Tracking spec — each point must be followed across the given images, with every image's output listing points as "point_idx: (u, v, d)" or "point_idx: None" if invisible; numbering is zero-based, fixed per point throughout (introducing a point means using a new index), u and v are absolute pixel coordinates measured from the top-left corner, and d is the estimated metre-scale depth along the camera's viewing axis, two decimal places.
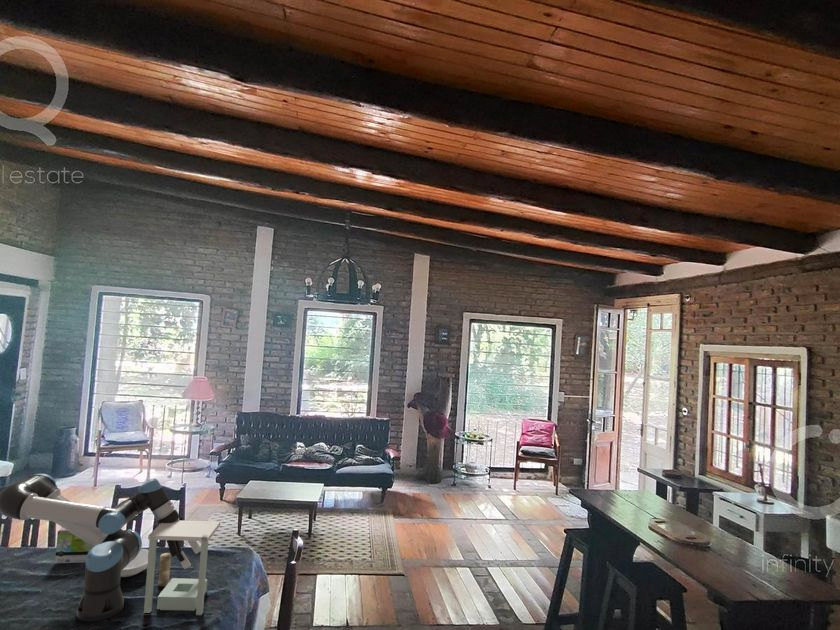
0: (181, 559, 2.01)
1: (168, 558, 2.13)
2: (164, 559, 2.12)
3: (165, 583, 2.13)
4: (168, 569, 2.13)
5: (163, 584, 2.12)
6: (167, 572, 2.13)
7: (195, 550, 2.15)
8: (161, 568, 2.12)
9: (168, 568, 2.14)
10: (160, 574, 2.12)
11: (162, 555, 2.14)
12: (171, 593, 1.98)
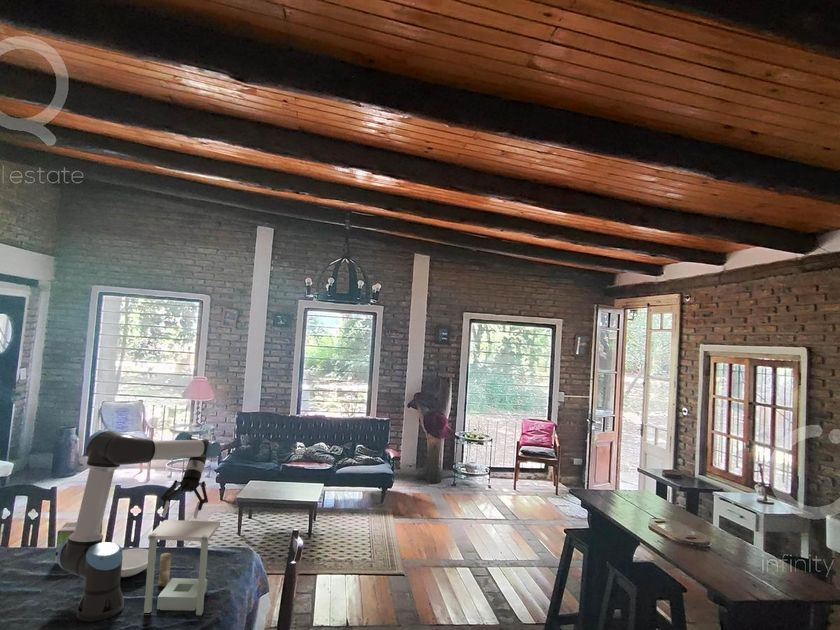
0: (201, 508, 2.30)
1: (168, 558, 2.13)
2: (164, 559, 2.12)
3: (165, 583, 2.13)
4: (168, 569, 2.13)
5: (163, 584, 2.12)
6: (167, 572, 2.13)
7: (164, 512, 2.26)
8: (161, 568, 2.12)
9: (168, 568, 2.14)
10: (160, 574, 2.12)
11: (162, 555, 2.14)
12: (171, 593, 1.98)
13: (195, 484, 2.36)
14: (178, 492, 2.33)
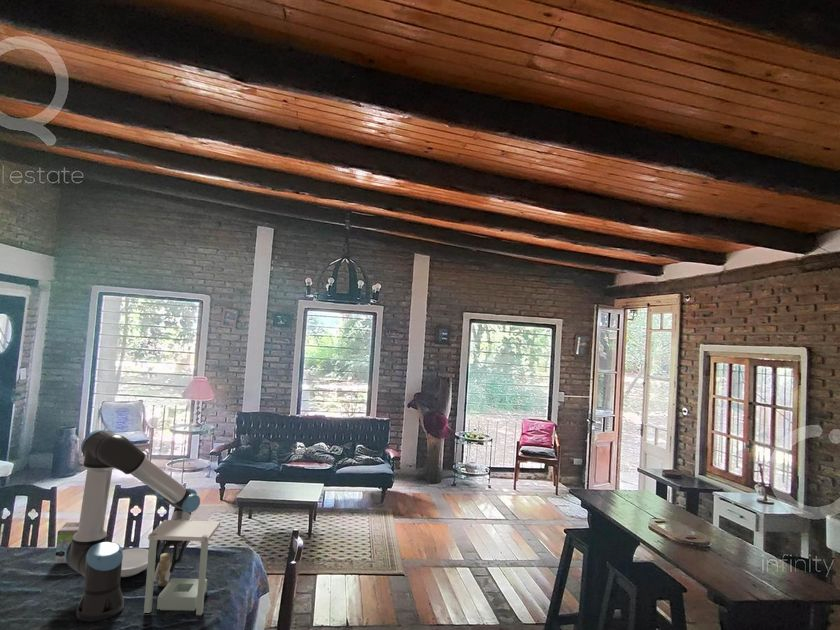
0: (173, 570, 2.14)
1: (168, 558, 2.13)
2: (164, 559, 2.12)
3: (165, 583, 2.13)
4: None
5: (163, 584, 2.12)
6: None
7: (156, 576, 2.11)
8: (161, 568, 2.12)
9: None
10: (160, 574, 2.12)
11: (162, 555, 2.14)
12: (171, 593, 1.98)
13: None
14: (166, 549, 2.19)
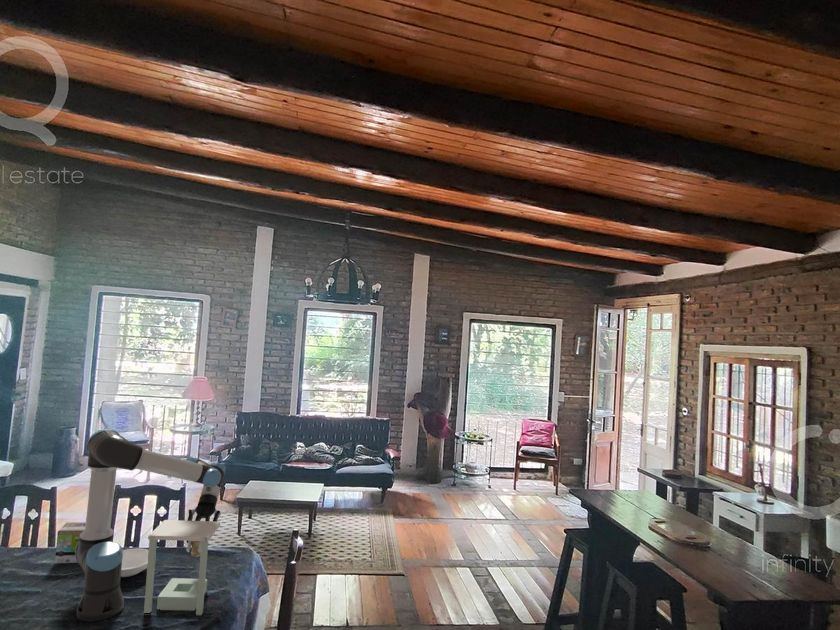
0: None
1: None
2: None
3: (198, 554, 2.14)
4: None
5: (196, 555, 2.14)
6: None
7: (189, 546, 2.12)
8: None
9: None
10: (193, 545, 2.14)
11: None
12: (171, 593, 1.98)
13: (210, 510, 2.23)
14: None
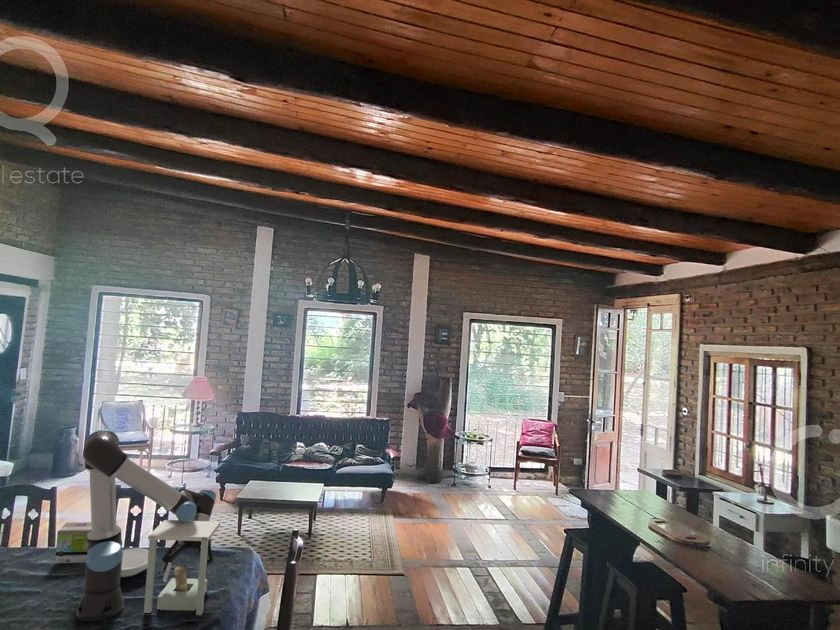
0: (206, 570, 2.05)
1: (183, 571, 2.01)
2: (178, 573, 2.00)
3: None
4: (185, 582, 2.02)
5: None
6: (184, 585, 2.02)
7: (166, 576, 2.01)
8: (177, 582, 2.01)
9: (185, 581, 2.02)
10: (177, 588, 2.01)
11: (176, 569, 2.01)
12: (171, 593, 1.98)
13: (200, 541, 2.11)
14: (181, 551, 2.08)
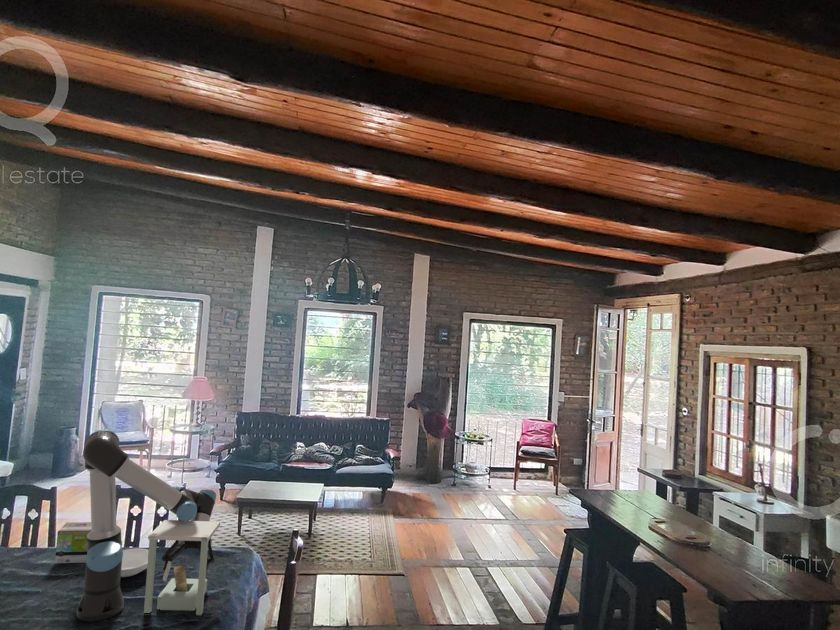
0: (207, 569, 2.05)
1: (182, 569, 2.02)
2: (178, 571, 2.01)
3: None
4: (184, 580, 2.03)
5: None
6: (184, 584, 2.02)
7: (166, 575, 2.01)
8: (177, 581, 2.01)
9: (184, 579, 2.03)
10: (177, 587, 2.01)
11: (175, 567, 2.03)
12: (171, 593, 1.98)
13: (200, 541, 2.11)
14: (181, 551, 2.09)
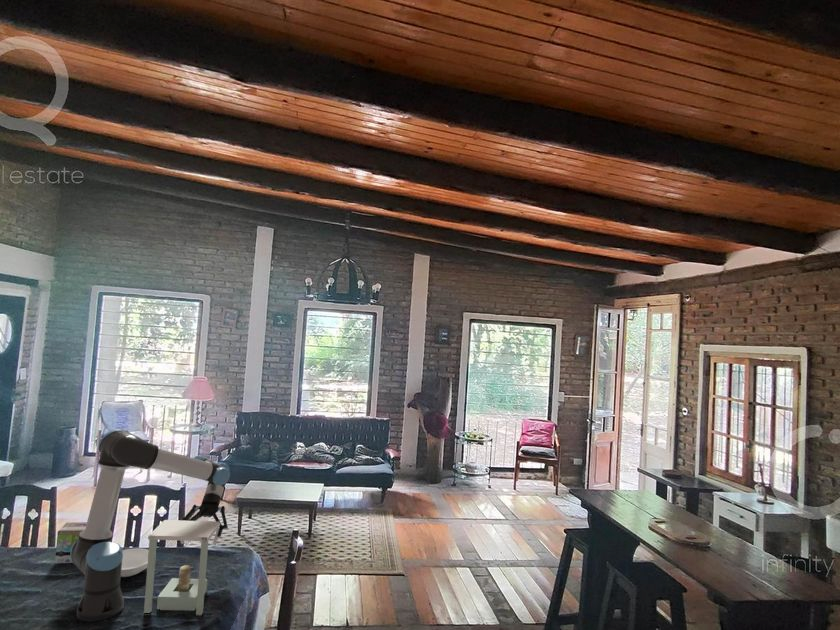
0: (220, 534, 2.23)
1: (188, 571, 2.02)
2: (184, 573, 2.01)
3: None
4: (188, 582, 2.02)
5: None
6: (187, 586, 2.02)
7: None
8: (181, 582, 2.01)
9: (188, 581, 2.02)
10: (179, 588, 2.01)
11: (181, 568, 2.02)
12: (171, 593, 1.98)
13: (214, 509, 2.29)
14: (197, 517, 2.27)
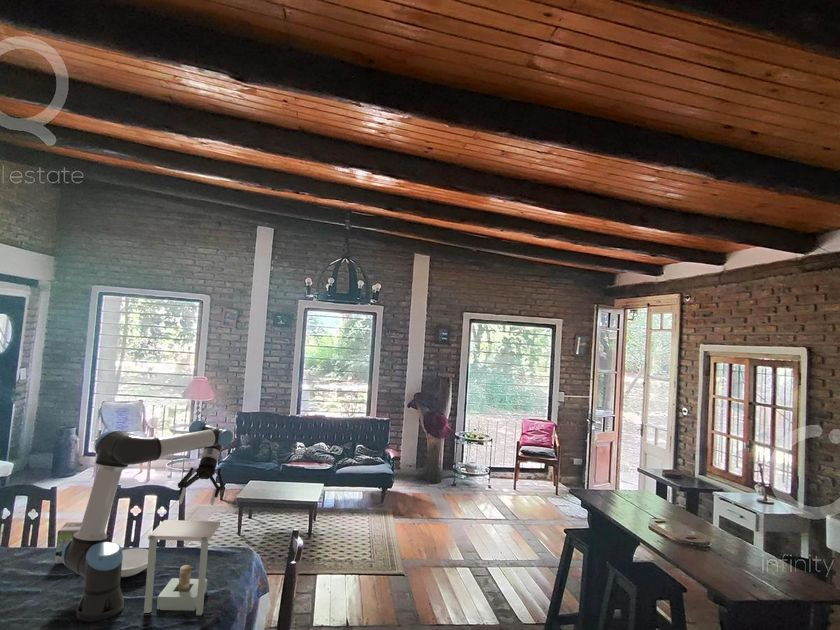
0: (217, 495, 2.31)
1: (189, 571, 2.02)
2: (184, 572, 2.01)
3: None
4: (188, 582, 2.03)
5: None
6: (187, 585, 2.02)
7: (181, 499, 2.27)
8: (181, 581, 2.01)
9: (188, 581, 2.03)
10: (180, 588, 2.01)
11: (182, 568, 2.02)
12: (171, 593, 1.98)
13: (211, 471, 2.37)
14: (194, 479, 2.34)
